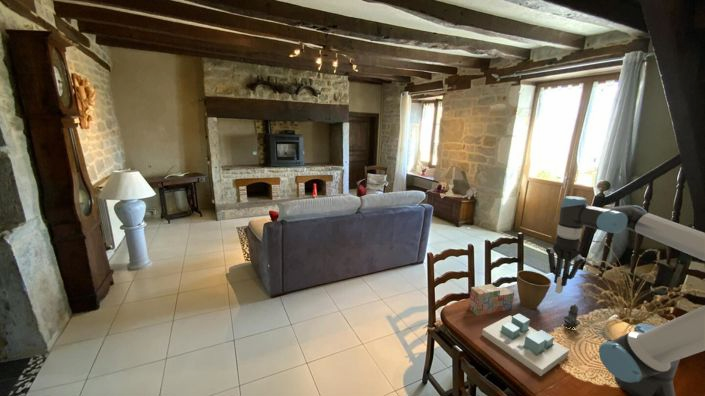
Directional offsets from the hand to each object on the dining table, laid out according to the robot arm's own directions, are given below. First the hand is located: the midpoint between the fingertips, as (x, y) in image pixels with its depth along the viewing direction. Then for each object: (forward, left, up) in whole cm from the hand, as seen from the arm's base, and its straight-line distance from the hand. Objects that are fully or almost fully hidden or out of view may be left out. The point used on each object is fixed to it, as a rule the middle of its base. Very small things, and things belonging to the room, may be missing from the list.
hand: (558, 291), depth 116 cm
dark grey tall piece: (+1, -22, -26) cm, 34 cm away
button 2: (+10, +4, -22) cm, 25 cm away
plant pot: (+20, -22, -26) cm, 39 cm away
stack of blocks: (+28, -2, -26) cm, 38 cm away
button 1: (+10, +11, -24) cm, 28 cm away
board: (+5, +9, -26) cm, 28 cm away
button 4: (0, +4, -24) cm, 24 cm away
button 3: (0, +11, -22) cm, 25 cm away
